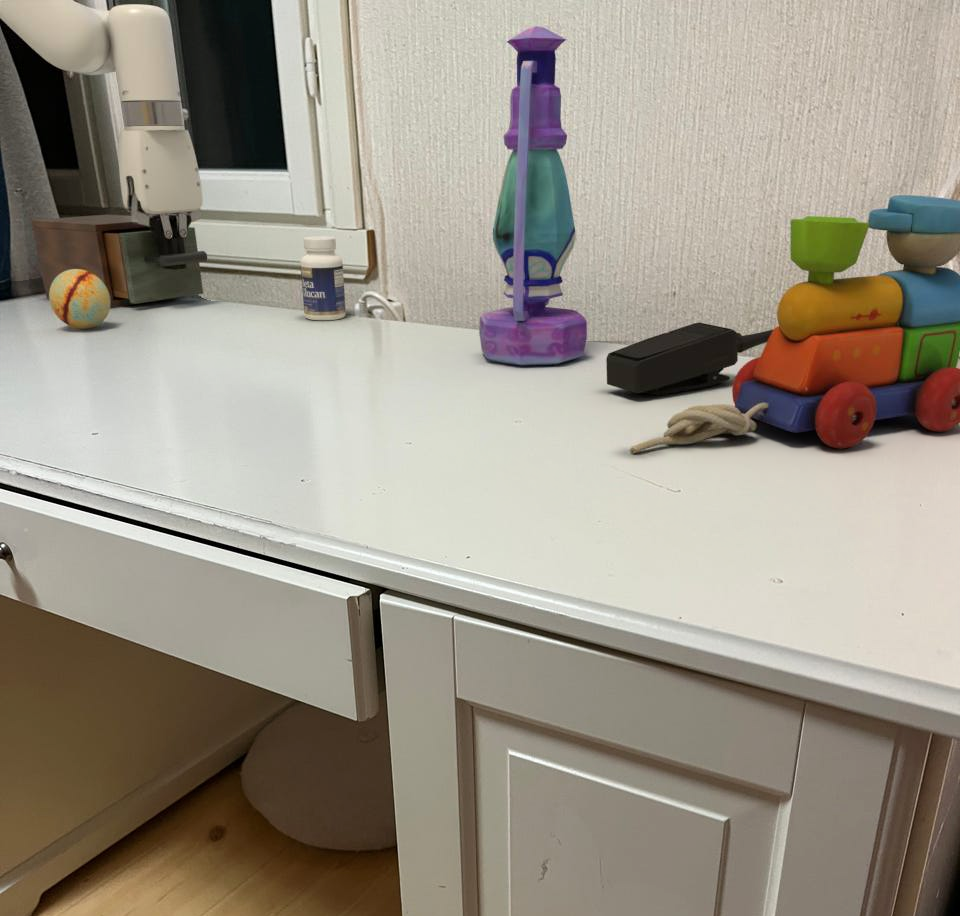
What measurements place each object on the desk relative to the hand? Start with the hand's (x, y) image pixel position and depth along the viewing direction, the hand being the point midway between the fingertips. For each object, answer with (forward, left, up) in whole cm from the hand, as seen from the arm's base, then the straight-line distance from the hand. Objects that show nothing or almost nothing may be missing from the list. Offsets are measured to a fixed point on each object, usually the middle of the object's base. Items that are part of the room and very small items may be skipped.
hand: (174, 268), depth 136 cm
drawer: (-7, 0, -4) cm, 8 cm away
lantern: (+61, -1, -5) cm, 61 cm away
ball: (+5, -18, -5) cm, 19 cm away
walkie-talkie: (+81, -2, -5) cm, 81 cm away
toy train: (+95, -12, -5) cm, 96 cm away
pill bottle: (+24, +5, -5) cm, 25 cm away
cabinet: (-15, 0, -5) cm, 16 cm away
